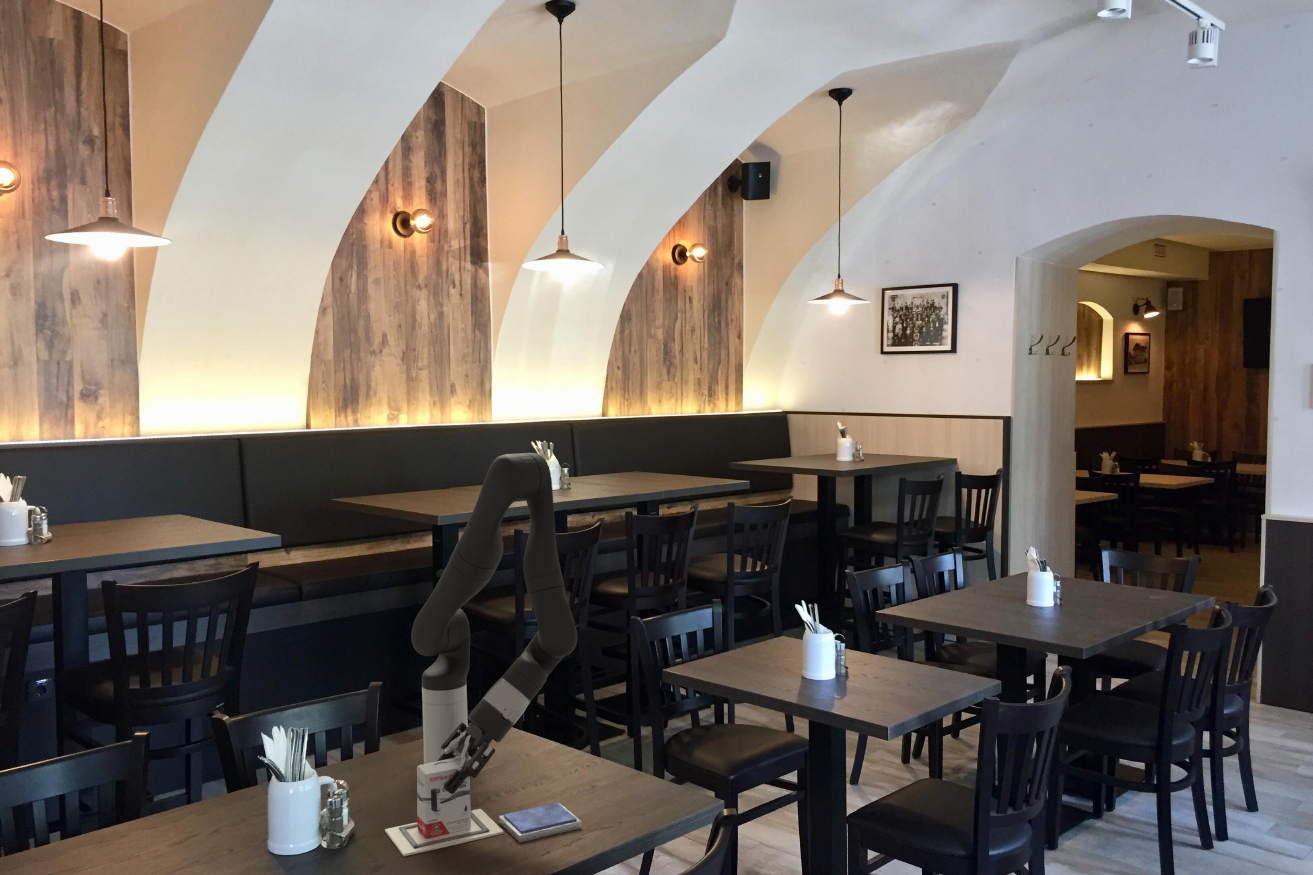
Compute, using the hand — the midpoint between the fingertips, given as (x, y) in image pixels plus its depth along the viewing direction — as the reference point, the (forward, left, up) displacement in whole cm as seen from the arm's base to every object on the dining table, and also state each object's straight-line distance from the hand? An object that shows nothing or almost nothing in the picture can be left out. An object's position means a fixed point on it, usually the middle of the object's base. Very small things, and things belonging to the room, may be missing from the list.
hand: (440, 783), depth 190 cm
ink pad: (+6, +16, -9) cm, 20 cm away
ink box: (0, +1, -9) cm, 9 cm away
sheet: (0, 0, -9) cm, 9 cm away
